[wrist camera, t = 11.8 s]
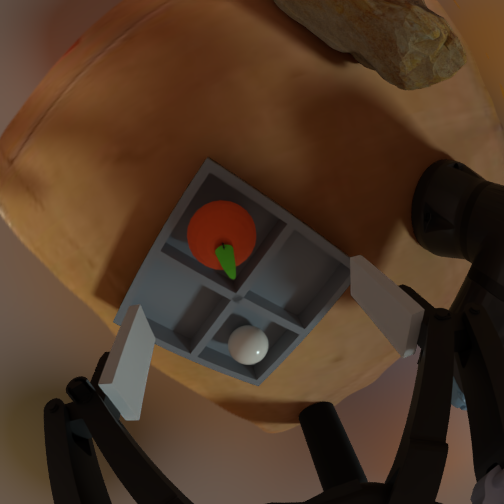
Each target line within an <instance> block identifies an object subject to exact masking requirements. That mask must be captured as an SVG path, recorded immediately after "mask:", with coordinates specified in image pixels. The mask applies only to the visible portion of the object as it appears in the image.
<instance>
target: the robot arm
mask: <svg viewBox="0 0 504 504" xmlns="http://www.w3.org/2000/svg"><path fill="white" fill-rule="evenodd" d="M412 225H413V230H414V233H415V236H416V238H417V240H418V242H419V243H420V245H421V246H422V247H423V248H425V249H426V250H428V251H429V252H431V253H433V254H435V255H437V256H441V257H450V258H458V259H466V260H467V261H469V262H471V263H472V265H471V268H470V270H469V272H468V274H467V276H466V278H465V280H464V282H463V284H462V286H461V288H460V290H459V292H458V294H457V296H456V298H455V300H454V301H453V303H452V305H451V307H450V309H449V310H447V309H444V308H436V309H435V308H434V307H433V306H432V305H431V304H429V303H428V302H427V301H426V300H425V299H424V298H422V297H421V296H420V295H419V294H418V293H416V292H415V291H414V290H413V289H412V288H411V287H408V286H406V285H403V284H402V285H400V286H397V285H396V284H395V283H394V282H393V281H392V280H390V279H389V278H388V277H387V276H386V275H385V274H383V273H382V272H381V271H380V270H379V269H377V268H376V267H375V266H374V265H373V264H371V263H370V262H369V261H368V260H366V259H365V258H364V257H363V256H362V255H358V256H354V257H350V276H351V296H352V297H353V298H354V299H355V301H356V302H357V303H358V304H359V305H360V306H361V308H362V309H363V310H364V311H365V312H366V314H367V315H368V316H369V317H370V318H371V320H372V321H373V322H374V323H375V324H376V326H377V327H378V328H379V329H380V330H381V332H382V333H383V334H384V335H385V337H386V338H387V339H388V340H389V342H390V343H391V344H392V345H393V346H394V348H395V349H396V350H397V351H398V353H399V354H400V355H401V357H402V358H406V357H408V356H410V355H412V354H414V353H415V351H416V347H417V344H418V346H420V348H421V352H420V357H419V360H418V363H417V364H418V370H417V376H416V381H415V387H414V391H413V396H412V401H411V405H410V409H409V413H408V417H407V421H406V425H405V428H404V432H403V435H402V439H401V442H400V445H399V448H398V451H397V454H396V457H395V460H394V463H393V466H392V468H391V470H390V473H389V475H388V477H387V479H386V481H385V484H384V483H377V482H365V483H359V480H358V479H355V480H352V481H350V482H347V483H344V484H341V485H338V486H335V487H332V488H330V489H328V490H326V491H324V492H323V493H321V494H319V495H317V496H315V497H313V498H311V499H309V500H307V501H305V502H298V503H297V502H296V503H267V504H442V503H438V502H435V499H436V496H437V493H438V490H439V486H440V483H441V479H442V475H443V471H444V467H445V463H446V458H447V454H448V444H447V443H446V435H447V429H448V422H449V416H450V407H451V404H452V405H453V406H455V407H456V408H459V407H460V409H461V410H467V412H468V418H469V425H470V433H471V441H472V450H473V463H474V471H475V476H476V480H477V483H476V485H475V487H474V489H473V492H472V496H471V501H472V504H504V186H503V185H500V184H496V183H493V182H489V181H486V180H485V179H484V178H482V177H481V176H480V175H478V174H477V173H476V172H474V171H473V170H472V169H470V168H469V167H467V166H466V165H464V164H463V163H460V162H457V161H453V160H446V159H445V160H439V161H437V162H435V163H433V164H432V165H431V166H430V167H429V168H428V169H427V170H426V171H425V172H424V174H423V175H422V177H421V179H420V181H419V183H418V185H417V188H416V191H415V194H414V198H413V204H412ZM154 344H155V337H154V334H153V332H152V330H151V328H150V326H149V323H148V321H147V319H146V316H145V314H144V312H143V309H142V307H141V305H140V304H138V305H133V306H129V308H128V310H127V313H126V315H125V317H124V320H123V322H122V324H121V327H120V329H119V331H118V334H117V336H116V339H115V341H114V344H113V346H112V349H111V351H110V352H105V353H104V354H103V355H102V357H101V358H100V359H99V362H98V364H97V367H96V369H95V372H94V374H93V377H92V380H91V382H89V381H88V379H87V378H86V377H82V376H81V377H76V378H74V379H73V380H71V381H70V382H69V384H68V385H67V387H66V393H67V394H68V395H69V397H70V398H71V399H72V400H73V402H71V403H68V404H64V403H63V401H62V400H60V399H57V398H55V399H52V400H50V401H49V402H48V403H47V404H46V406H45V407H44V432H45V446H46V456H47V465H48V472H49V479H50V484H51V490H52V495H53V500H54V504H112V503H111V500H110V497H109V494H108V492H107V489H106V486H105V483H104V480H103V477H102V474H101V470H100V467H99V464H98V460H97V456H96V453H95V449H94V445H93V441H92V437H93V439H94V440H95V442H96V444H97V446H98V447H99V449H100V451H101V452H102V453H103V456H104V457H105V459H106V460H107V462H108V463H109V465H110V467H111V468H112V469H113V471H114V473H115V474H116V475H117V477H118V478H119V480H120V481H121V482H122V484H123V485H124V487H125V488H126V489H127V490H128V492H129V493H130V495H131V496H132V497H133V499H134V500H135V501H136V502H137V504H194V503H192V502H191V501H190V500H189V499H188V498H187V497H186V496H185V495H184V494H183V493H182V492H181V491H180V490H179V489H178V488H177V487H176V486H175V485H174V484H173V483H172V482H171V481H170V480H169V479H168V478H167V477H166V476H165V475H164V474H163V473H162V472H161V470H160V469H159V468H158V467H157V466H156V465H155V464H154V463H153V462H152V460H151V459H150V458H149V457H148V456H147V455H146V453H145V452H144V451H143V450H142V449H141V447H140V446H139V445H138V444H137V442H136V441H135V440H134V439H133V437H132V436H131V435H130V433H129V432H128V431H127V430H126V428H125V427H124V425H123V424H122V423H121V422H120V420H119V418H120V414H121V415H122V416H123V417H124V418H125V420H139V418H140V413H141V407H142V401H143V396H144V391H145V386H146V381H147V376H148V371H149V366H150V362H151V357H152V352H153V348H154Z"/></svg>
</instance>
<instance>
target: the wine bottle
mask: <svg viewBox="0 0 504 504" xmlns="http://www.w3.org/2000/svg"><path fill="white" fill-rule="evenodd" d="M299 421H300V424H301V427H302V430H303V433H304V436H305V439H306V442H307V445H308V448H309V451H310V453H311V456H312V459H313V462H314V465H315V468H316V471H317V474H318V477H319V480H320V482H321V485H322V488H323V491H326V490H328V489H330V488H332V487H335V486H338V485H341V484H344V483H347V482H350V481H352V480H355V479H358V480H359V483H365V482H368V481H367V478H366V476H365V474H364V471H363V469H362V467H361V465H360V463H359V460H358V458H357V456H356V454H355V452H354V449H353V447H352V445H351V443H350V441H349V438H348V436H347V434H346V432H345V430H344V427H343V425H342V423H341V421H340V419H339V417H338V415H337V412H336V410H335V408H334V406H333V404H332V403H330V402H319V403H315V404H313V405H311V406H309V407H307V408H305V409H304V410H303V411H302V412H301V413H300V415H299Z"/></svg>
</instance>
